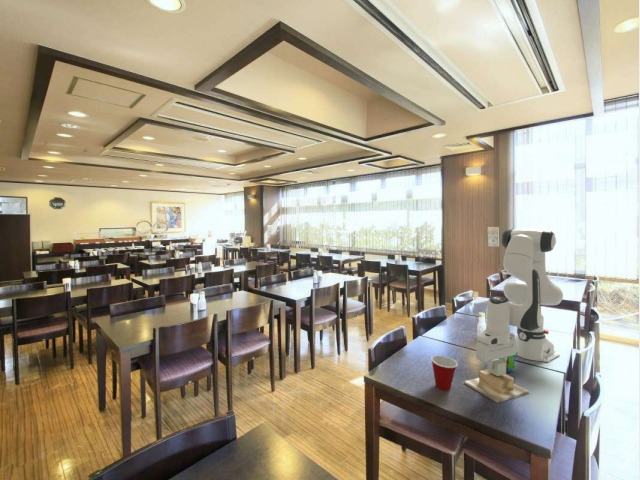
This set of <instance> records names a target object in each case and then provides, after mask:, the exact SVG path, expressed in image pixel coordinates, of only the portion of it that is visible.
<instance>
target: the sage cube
mask: <svg viewBox="0 0 640 480" xmlns="http://www.w3.org/2000/svg"><path fill="white" fill-rule="evenodd" d="M486 363H487V362H486ZM492 364H493V365H494V369H492V370H491V369H489V368H488V363H487V364H486V369H487V371H488V372H490V373H492V374H494V375H496V376H500V375H504V374H506V375H507V372H506V362H504V361H502V360H500V359H495V360H493V362H492Z"/></svg>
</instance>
